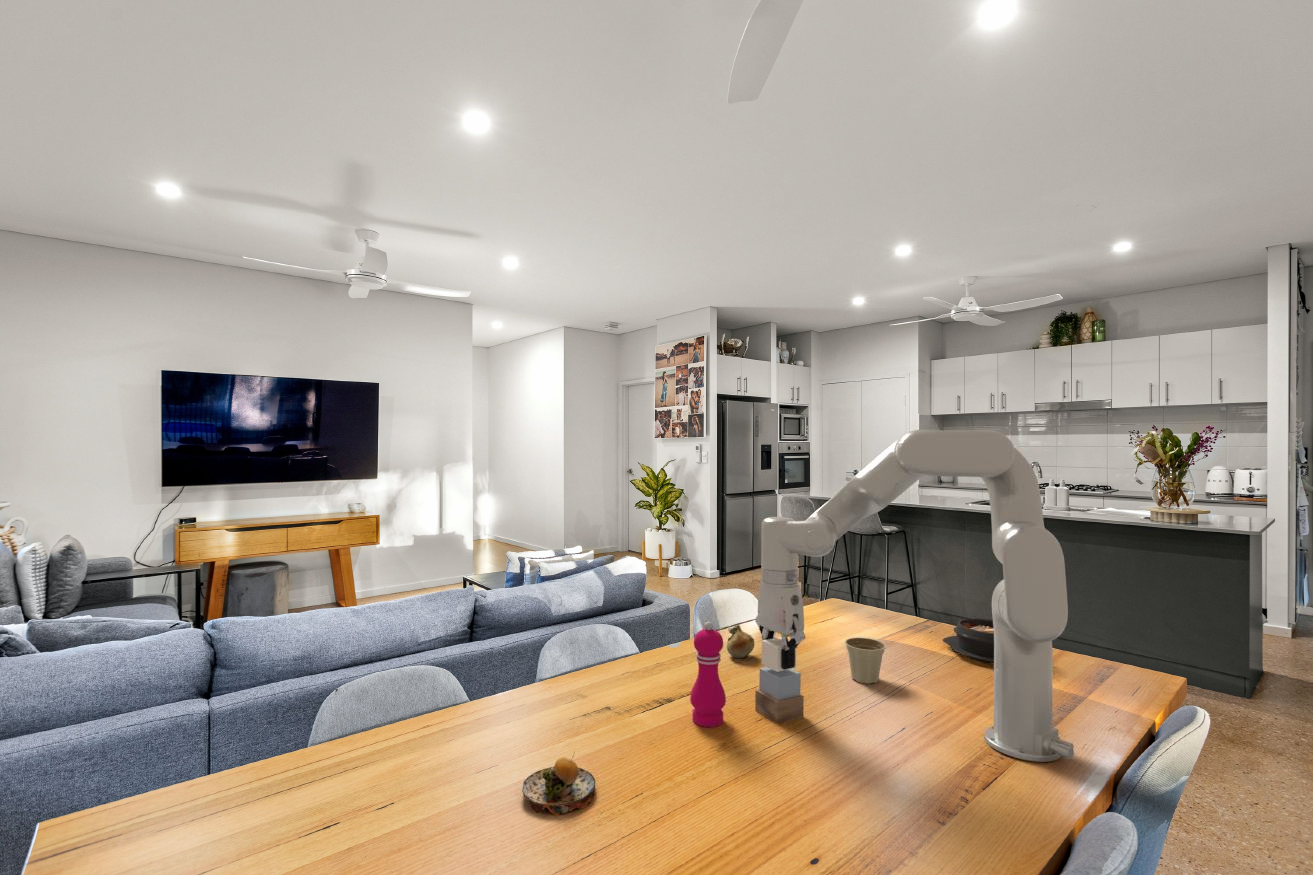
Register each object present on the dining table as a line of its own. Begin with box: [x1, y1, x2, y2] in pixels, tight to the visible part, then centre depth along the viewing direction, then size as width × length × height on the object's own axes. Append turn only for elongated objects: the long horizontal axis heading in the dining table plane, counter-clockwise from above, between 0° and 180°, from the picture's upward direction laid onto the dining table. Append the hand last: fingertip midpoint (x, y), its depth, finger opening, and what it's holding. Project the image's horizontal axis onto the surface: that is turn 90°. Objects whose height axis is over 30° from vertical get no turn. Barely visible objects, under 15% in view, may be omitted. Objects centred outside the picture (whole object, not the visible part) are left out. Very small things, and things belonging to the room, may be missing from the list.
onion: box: [726, 624, 755, 659], centre depth 167 cm, size 8×8×8 cm
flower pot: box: [844, 637, 887, 685], centre depth 152 cm, size 9×9×9 cm
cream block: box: [761, 636, 797, 672], centre depth 132 cm, size 5×5×5 cm
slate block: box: [758, 666, 802, 700], centre depth 132 cm, size 6×6×4 cm
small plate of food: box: [521, 752, 597, 816], centre depth 101 cm, size 12×12×8 cm
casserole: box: [942, 618, 994, 665], centre depth 169 cm, size 25×19×8 cm
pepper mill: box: [689, 621, 727, 728], centre depth 128 cm, size 7×7×20 cm
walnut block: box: [754, 689, 805, 724], centre depth 132 cm, size 7×7×4 cm
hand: (778, 662), depth 132 cm, fingers closed on cream block, 5 cm apart
